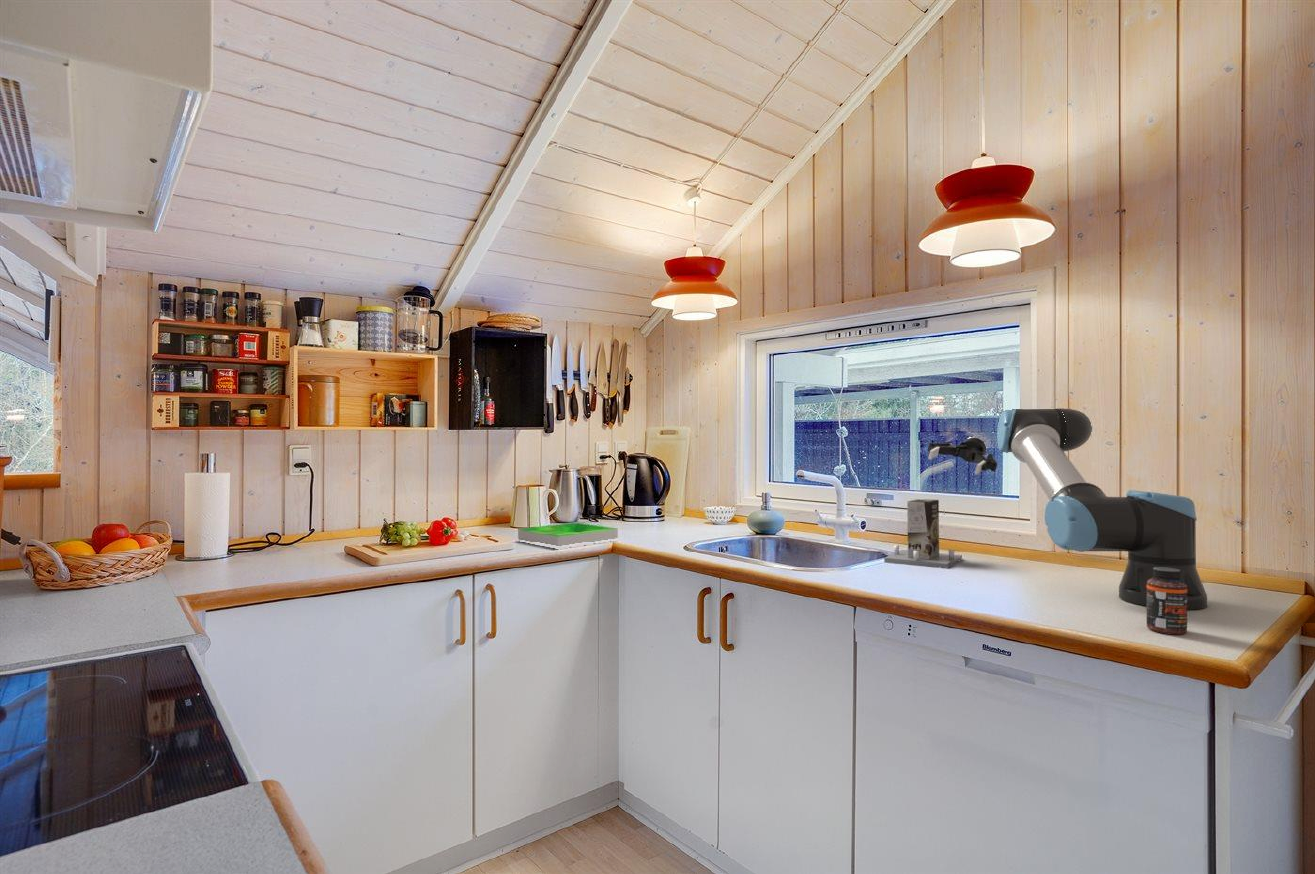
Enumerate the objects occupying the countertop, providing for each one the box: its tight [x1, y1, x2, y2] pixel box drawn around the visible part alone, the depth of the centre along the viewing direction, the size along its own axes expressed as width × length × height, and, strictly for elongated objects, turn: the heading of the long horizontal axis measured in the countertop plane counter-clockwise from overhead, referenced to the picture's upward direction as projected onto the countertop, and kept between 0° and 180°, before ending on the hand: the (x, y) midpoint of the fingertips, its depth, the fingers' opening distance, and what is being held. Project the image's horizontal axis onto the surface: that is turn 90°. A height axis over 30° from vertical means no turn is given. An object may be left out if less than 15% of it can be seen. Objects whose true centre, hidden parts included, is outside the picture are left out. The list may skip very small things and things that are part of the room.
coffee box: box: [906, 498, 940, 560], centre depth 195 cm, size 9×6×16 cm
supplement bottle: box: [1146, 567, 1189, 636], centre depth 124 cm, size 6×6×11 cm
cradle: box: [884, 544, 963, 569], centre depth 195 cm, size 16×17×4 cm
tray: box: [517, 522, 619, 546], centre depth 240 cm, size 25×25×5 cm
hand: (953, 462), depth 201 cm, fingers open, 13 cm apart
